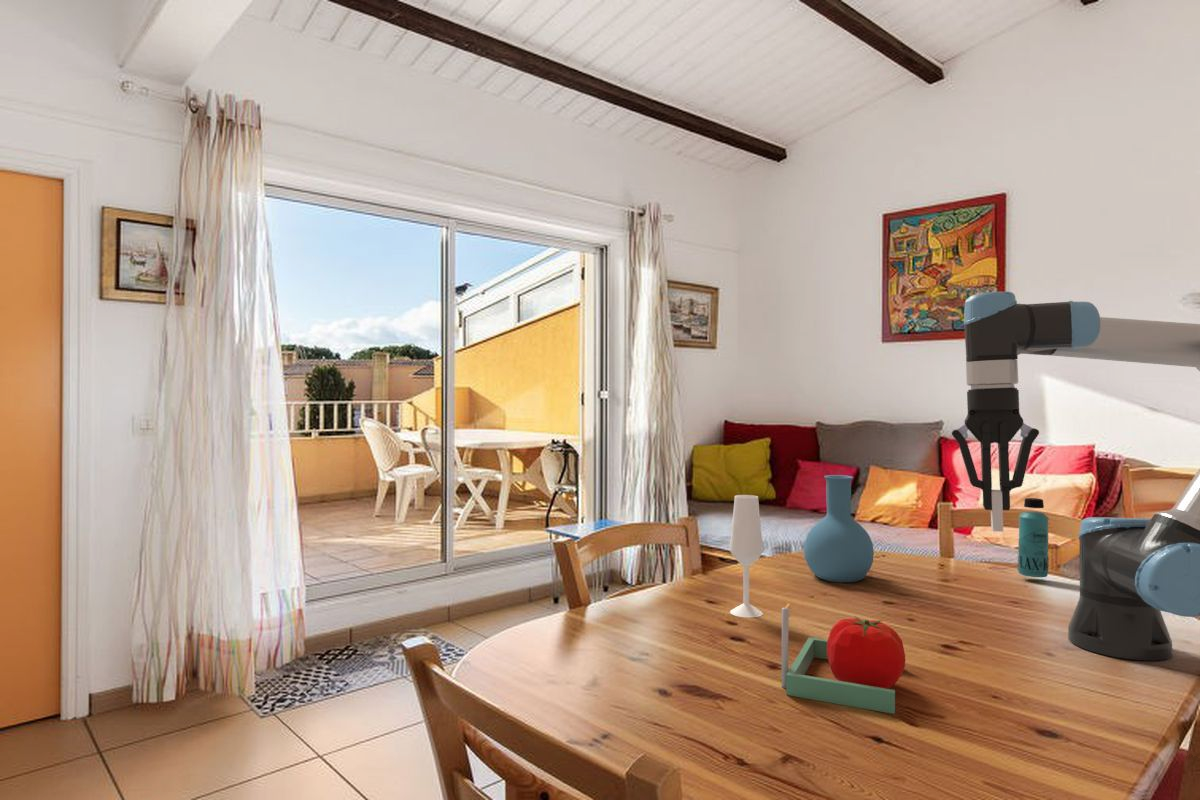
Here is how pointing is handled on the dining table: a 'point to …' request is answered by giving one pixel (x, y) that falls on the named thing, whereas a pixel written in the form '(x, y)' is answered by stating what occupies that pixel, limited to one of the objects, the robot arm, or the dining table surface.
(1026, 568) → the beverage bottle
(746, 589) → the champagne flute
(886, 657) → the tomato
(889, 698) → the green u-shaped frame
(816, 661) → the dining table surface
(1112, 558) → the robot arm
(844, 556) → the vase
